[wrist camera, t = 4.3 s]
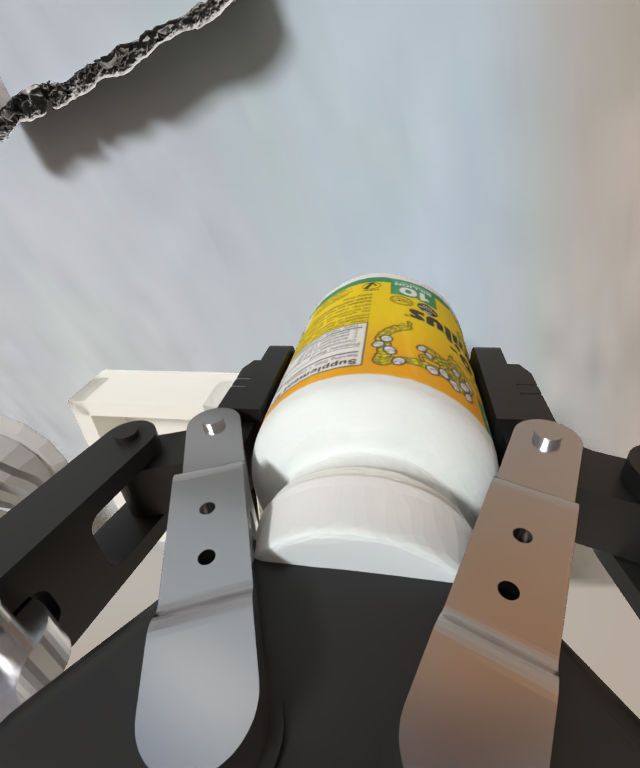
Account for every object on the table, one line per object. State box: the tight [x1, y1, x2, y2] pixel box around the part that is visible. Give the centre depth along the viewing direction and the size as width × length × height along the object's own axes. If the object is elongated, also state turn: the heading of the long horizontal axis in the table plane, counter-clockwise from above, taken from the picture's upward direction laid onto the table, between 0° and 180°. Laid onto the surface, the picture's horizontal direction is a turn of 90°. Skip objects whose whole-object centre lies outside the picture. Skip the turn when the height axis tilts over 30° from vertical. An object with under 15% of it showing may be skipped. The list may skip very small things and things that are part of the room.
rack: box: [68, 369, 264, 542], centre depth 26 cm, size 25×12×4 cm, turn 93°
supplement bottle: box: [252, 273, 499, 583], centre depth 11 cm, size 5×5×10 cm
